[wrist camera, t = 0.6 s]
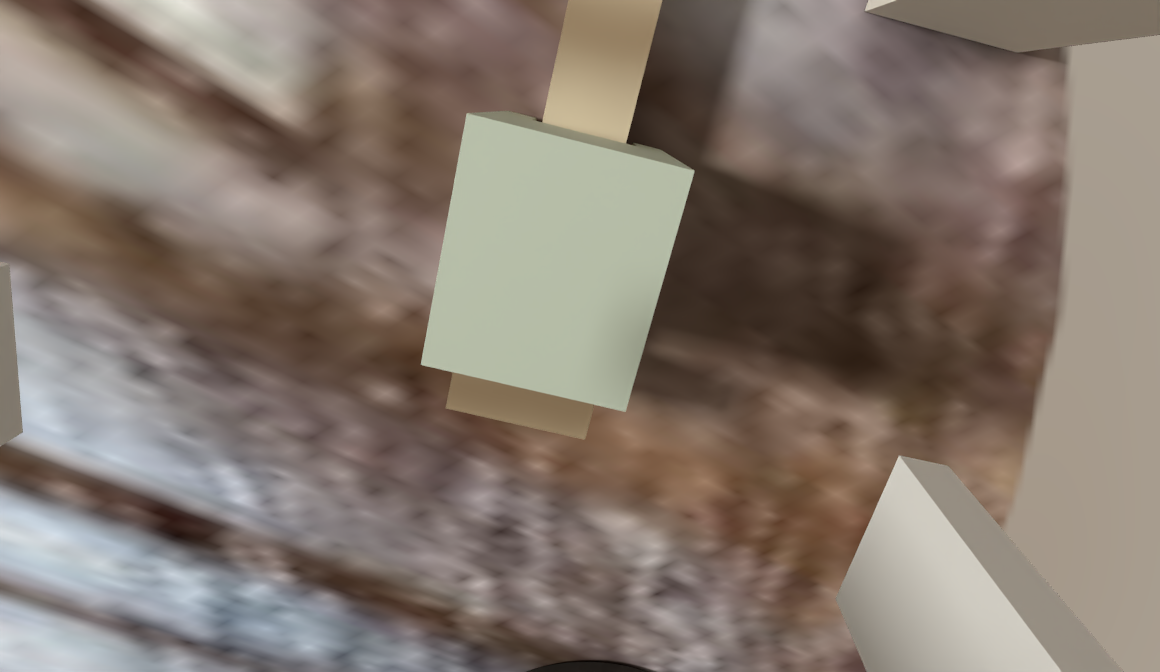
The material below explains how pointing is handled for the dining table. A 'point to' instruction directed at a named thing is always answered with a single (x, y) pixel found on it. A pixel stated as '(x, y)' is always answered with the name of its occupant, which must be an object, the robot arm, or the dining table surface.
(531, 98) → the dining table surface
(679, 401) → the dining table surface
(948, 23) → the white tall block
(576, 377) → the block
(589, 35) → the rail
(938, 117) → the dining table surface
